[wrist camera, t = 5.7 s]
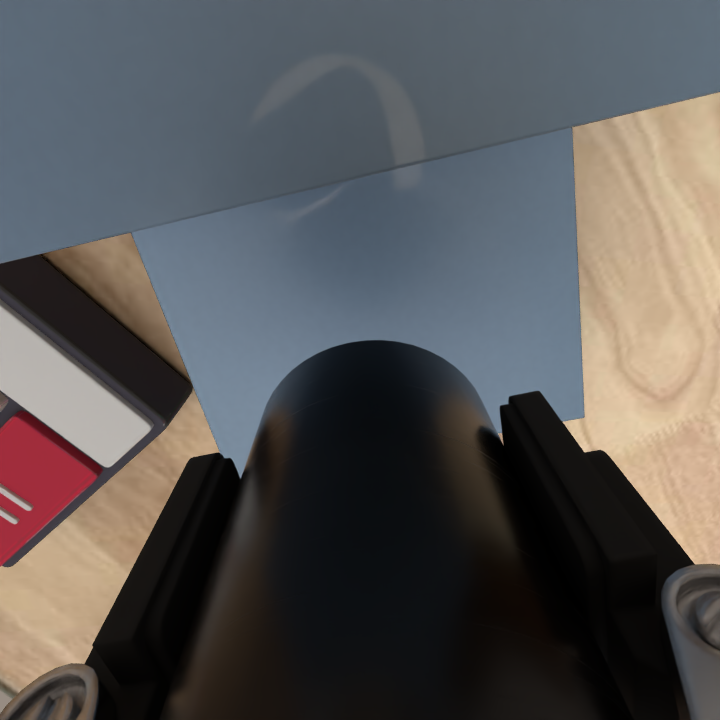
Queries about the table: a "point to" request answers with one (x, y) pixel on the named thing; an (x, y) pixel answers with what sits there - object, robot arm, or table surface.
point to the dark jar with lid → (385, 564)
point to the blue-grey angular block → (335, 171)
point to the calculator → (68, 401)
